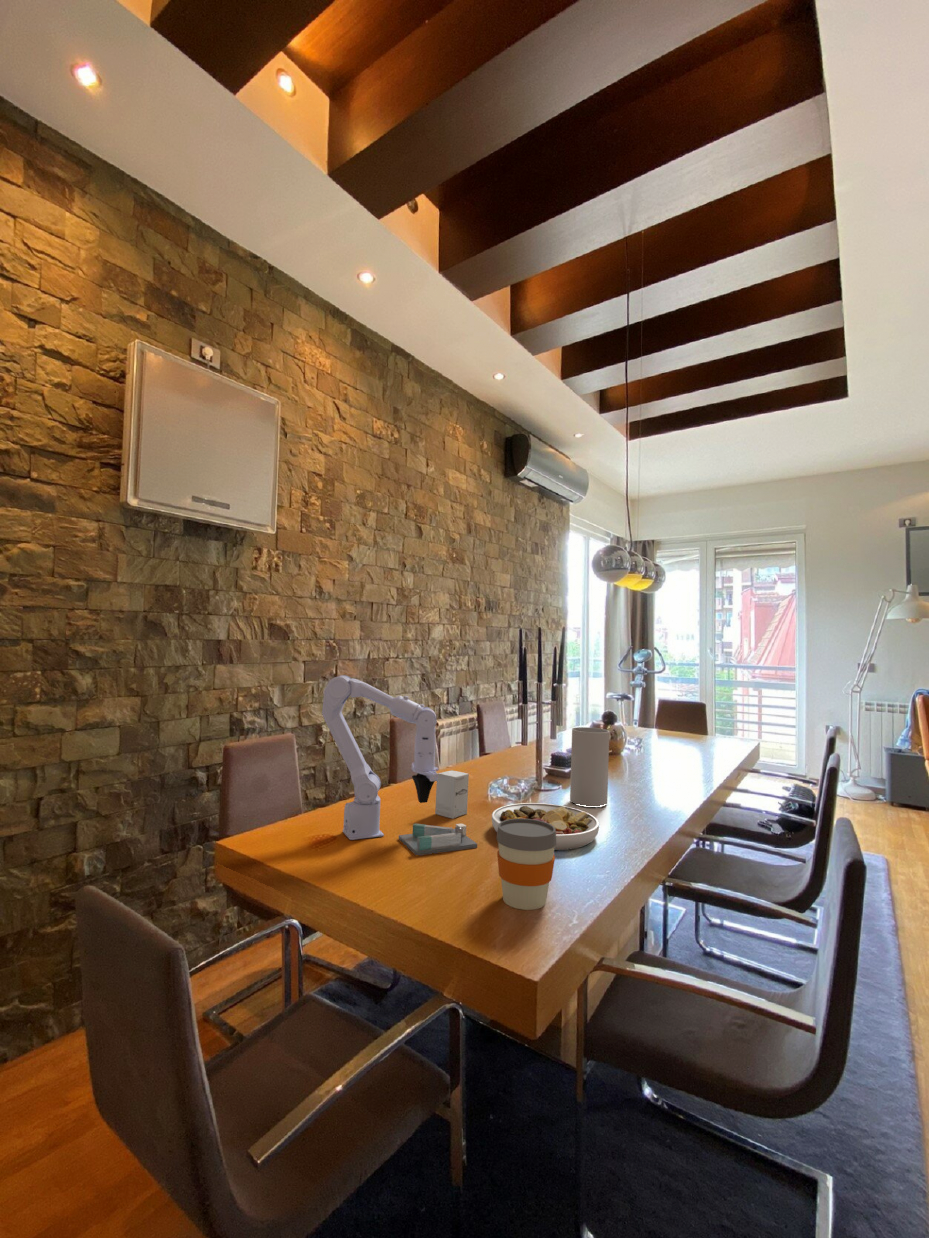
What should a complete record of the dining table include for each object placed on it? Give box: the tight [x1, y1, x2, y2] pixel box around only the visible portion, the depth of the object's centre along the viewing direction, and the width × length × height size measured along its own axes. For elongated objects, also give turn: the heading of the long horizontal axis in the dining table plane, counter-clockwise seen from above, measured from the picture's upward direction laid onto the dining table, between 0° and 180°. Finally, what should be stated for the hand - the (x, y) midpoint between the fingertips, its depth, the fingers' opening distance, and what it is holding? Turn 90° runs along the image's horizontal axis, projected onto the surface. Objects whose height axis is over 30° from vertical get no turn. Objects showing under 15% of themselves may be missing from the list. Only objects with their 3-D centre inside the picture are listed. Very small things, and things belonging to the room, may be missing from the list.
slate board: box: [398, 828, 478, 856], centre depth 152 cm, size 17×13×1 cm
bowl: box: [491, 802, 600, 851], centre depth 163 cm, size 30×30×8 cm
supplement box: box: [435, 769, 470, 820], centre depth 179 cm, size 7×7×13 cm
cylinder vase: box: [569, 726, 610, 806], centre depth 198 cm, size 12×12×25 cm
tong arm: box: [412, 823, 453, 837], centre depth 153 cm, size 10×2×3 cm, turn 78°
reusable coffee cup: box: [496, 819, 557, 911], centre depth 121 cm, size 13×13×15 cm
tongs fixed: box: [417, 826, 463, 850], centre depth 148 cm, size 13×3×4 cm, turn 116°
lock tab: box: [455, 823, 467, 836], centre depth 157 cm, size 2×2×2 cm
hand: (422, 801), depth 159 cm, fingers closed
